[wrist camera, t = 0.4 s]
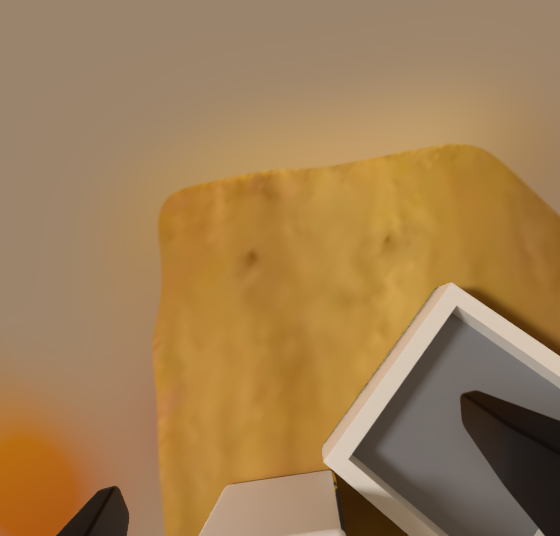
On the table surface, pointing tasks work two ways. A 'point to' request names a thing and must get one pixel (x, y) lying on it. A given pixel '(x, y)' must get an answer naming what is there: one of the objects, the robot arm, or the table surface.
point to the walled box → (442, 420)
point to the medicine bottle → (279, 508)
